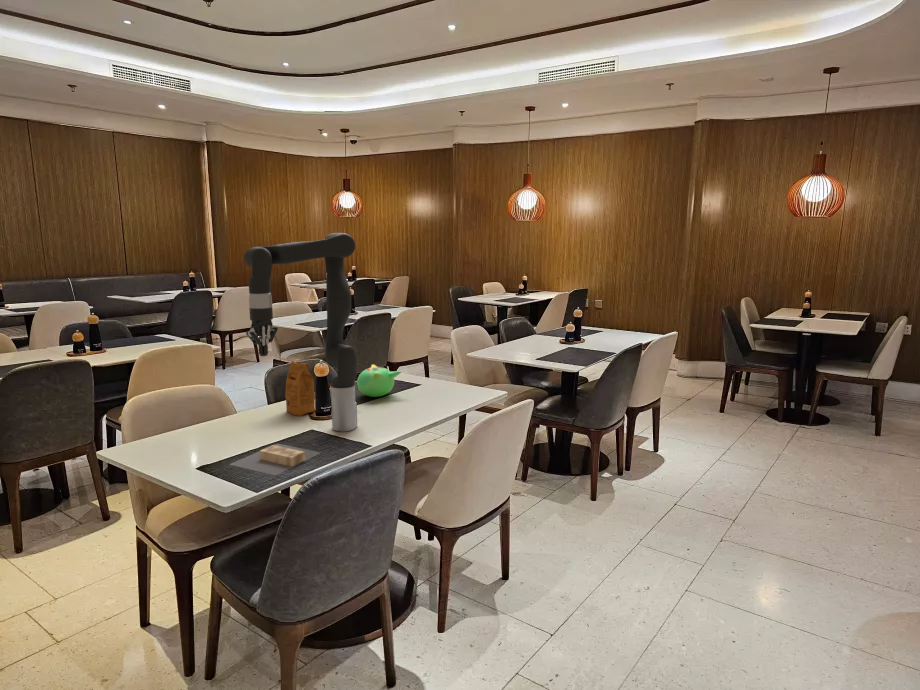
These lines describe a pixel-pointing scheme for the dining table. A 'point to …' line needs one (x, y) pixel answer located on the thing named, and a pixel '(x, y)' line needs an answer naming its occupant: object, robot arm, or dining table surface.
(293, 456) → the oak card block
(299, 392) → the coffee package
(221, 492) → the dining table surface
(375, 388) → the toy bird
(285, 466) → the charcoal placemat
